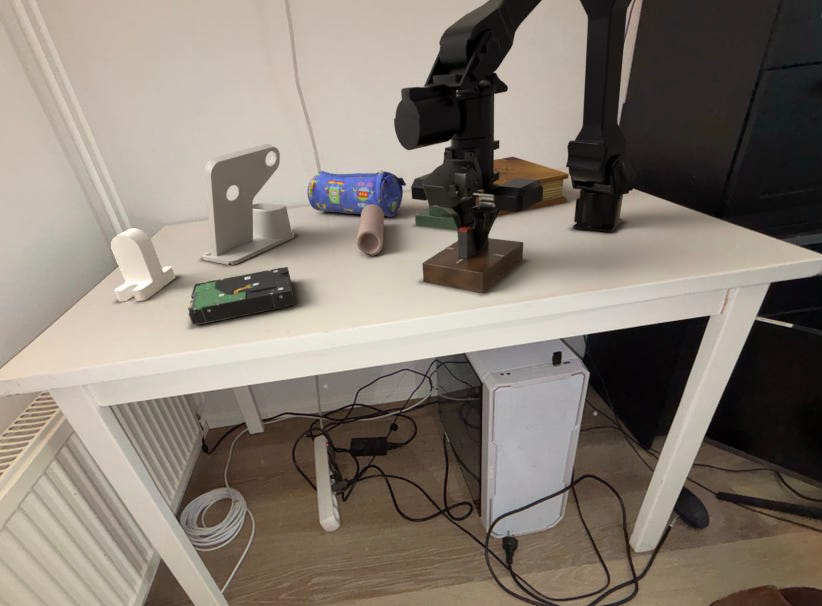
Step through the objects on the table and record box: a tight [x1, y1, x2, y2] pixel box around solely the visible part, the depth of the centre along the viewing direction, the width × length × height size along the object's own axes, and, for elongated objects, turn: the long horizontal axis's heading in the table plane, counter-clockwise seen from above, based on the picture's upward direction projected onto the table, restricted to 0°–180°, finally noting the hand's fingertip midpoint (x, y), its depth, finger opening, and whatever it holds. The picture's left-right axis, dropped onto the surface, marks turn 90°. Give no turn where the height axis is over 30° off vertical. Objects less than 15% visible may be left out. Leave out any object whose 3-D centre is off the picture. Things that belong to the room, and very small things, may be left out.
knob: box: [457, 221, 490, 259], centre depth 72 cm, size 6×2×4 cm, turn 136°
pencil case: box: [306, 169, 407, 218], centre depth 107 cm, size 22×9×10 cm, turn 58°
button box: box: [414, 204, 475, 231], centre depth 96 cm, size 10×8×4 cm
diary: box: [476, 156, 570, 217], centre depth 105 cm, size 23×19×6 cm
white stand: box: [110, 227, 176, 302], centre depth 81 cm, size 5×10×10 cm, turn 170°
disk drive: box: [187, 266, 295, 325], centre depth 73 cm, size 10×3×15 cm
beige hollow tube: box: [356, 204, 385, 257], centre depth 91 cm, size 5×5×18 cm
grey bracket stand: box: [201, 143, 295, 266], centre depth 93 cm, size 17×10×18 cm, turn 145°
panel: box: [421, 237, 524, 294], centre depth 74 cm, size 10×13×3 cm
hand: (473, 248), depth 73 cm, fingers closed on knob, 2 cm apart
